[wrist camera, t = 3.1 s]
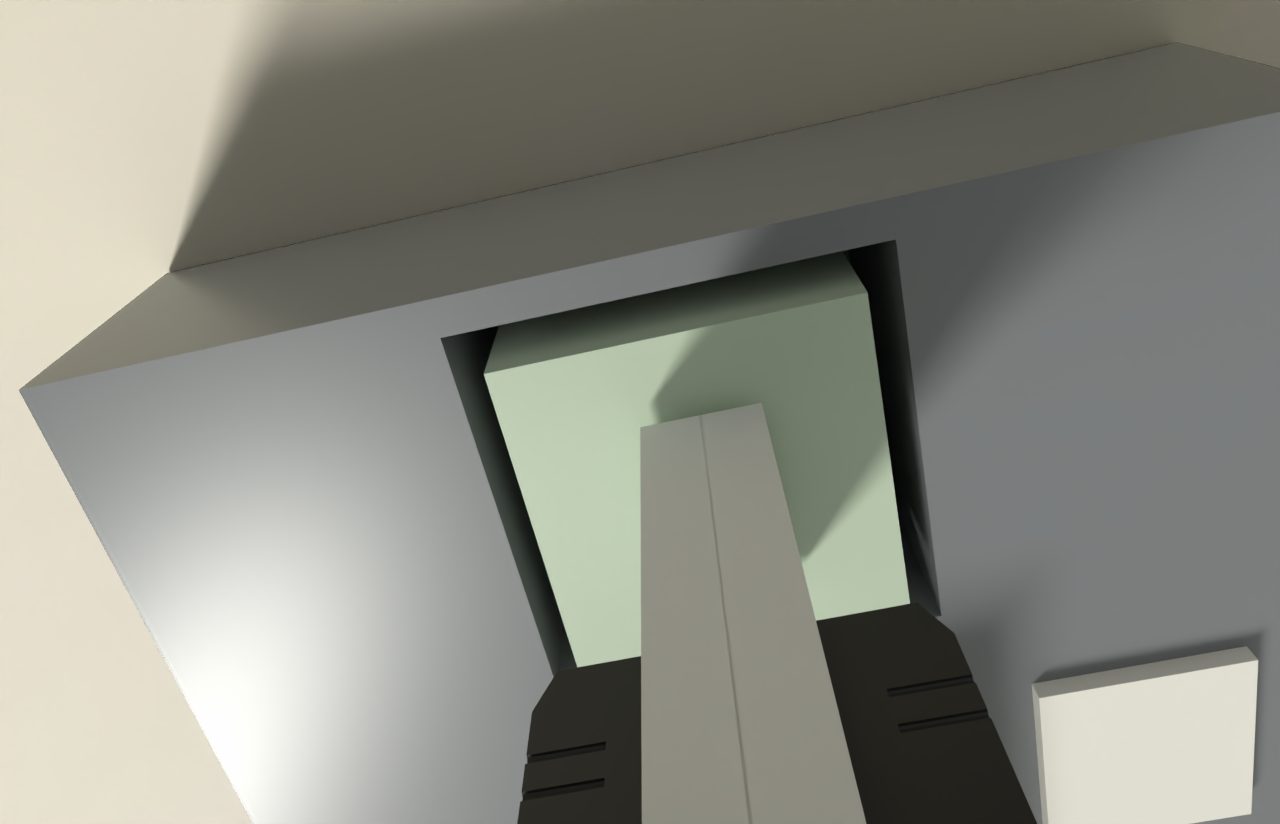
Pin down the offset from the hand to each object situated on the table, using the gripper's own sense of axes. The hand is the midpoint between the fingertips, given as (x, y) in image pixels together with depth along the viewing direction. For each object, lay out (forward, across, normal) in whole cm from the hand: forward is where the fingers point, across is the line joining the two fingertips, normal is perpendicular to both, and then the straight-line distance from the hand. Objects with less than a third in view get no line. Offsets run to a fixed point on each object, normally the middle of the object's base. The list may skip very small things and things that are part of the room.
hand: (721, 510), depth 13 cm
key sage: (+3, 0, 0) cm, 3 cm away
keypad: (+5, 0, -10) cm, 11 cm away
